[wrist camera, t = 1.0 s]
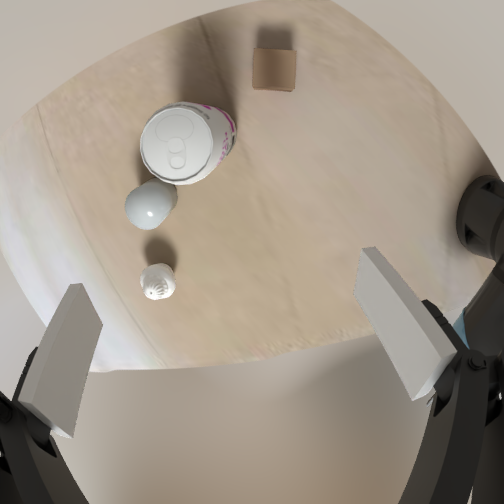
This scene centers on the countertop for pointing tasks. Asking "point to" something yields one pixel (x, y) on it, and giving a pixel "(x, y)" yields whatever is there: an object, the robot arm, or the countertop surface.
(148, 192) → the white rounded cylinder
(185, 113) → the supplement can
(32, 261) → the countertop surface
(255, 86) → the walnut block
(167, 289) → the white ribbed rounded piece
